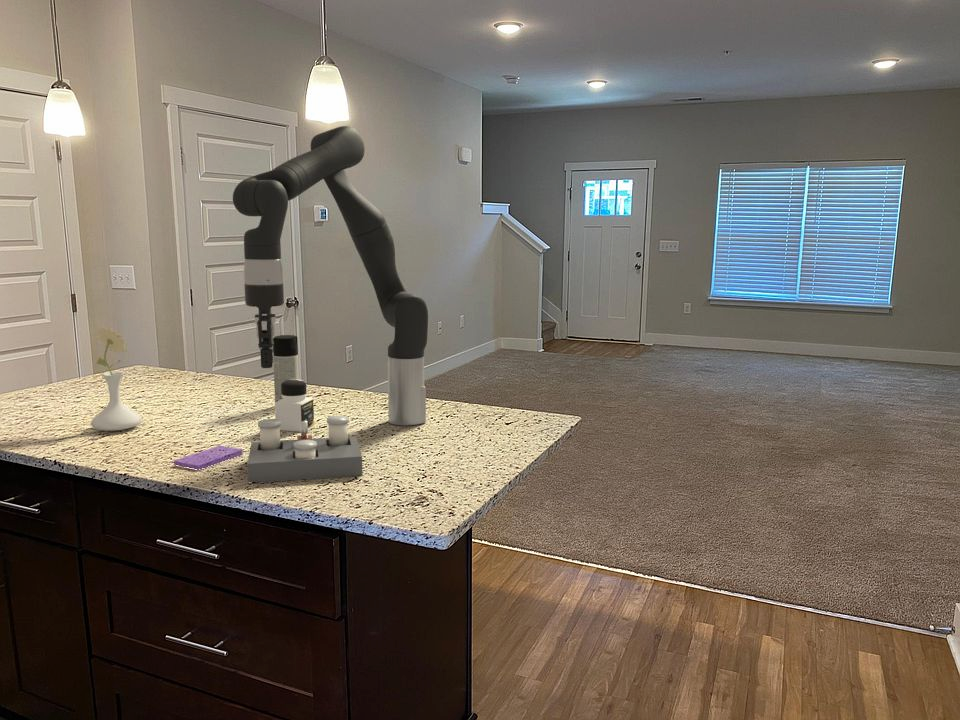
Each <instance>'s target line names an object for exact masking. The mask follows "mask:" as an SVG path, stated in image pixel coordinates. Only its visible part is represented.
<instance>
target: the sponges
mask: <svg viewBox="0 0 960 720" xmlns="http://www.w3.org/2000/svg"><path fill="white" fill-rule="evenodd" d="M243 452H244V451H243V448H238V447H231V446H225V445H216V446H214V447H210V448H208V449H204V450H201V451H198V452H195V453H192V454H190V455H187V456H183V457H180V458H177V459H174V460H173V465H175V466H176V465H179V466H184V467H189V468H194V469H197V470H199V469H202V468H205V467H208V466H211V465H214V464H216V465H218V464H217V463H219V464H221V463H220V462H222V461H225V460H228V459H230V460H232V459H231V458H233V459H235V458H234V457H236V458H238V457H237V456H239V457H241V456H240V455H242V456H243V455H244V454H243ZM228 461H229V460H228ZM225 462H226V461H225ZM222 463H223V462H222ZM214 466H215V465H214ZM211 467H212V466H211ZM208 468H209V467H208ZM205 469H206V468H205Z"/></svg>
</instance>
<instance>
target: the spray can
mask: <svg viewBox="0 0 960 720" xmlns="http://www.w3.org/2000/svg"><path fill="white" fill-rule="evenodd" d="M273 341H274V344H273V381H274V382H273V384H274V403H275V402H277V401H279V400H281V399H283V398H282V394H281V384H282V382H284V381H286V380H293V379H297V380H300V375H299V373H300V372H299V348H298V345H299V343H298V336H297V335H293V334H292V335H291V334H281V335H274V340H273Z"/></svg>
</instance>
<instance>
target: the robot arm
mask: <svg viewBox="0 0 960 720" xmlns="http://www.w3.org/2000/svg"><path fill="white" fill-rule="evenodd" d="M364 156H365V143H364V141H363V137H362V136H361V134H360V132H358V131H357V130H356V129H355V128H354V127H351V126H348V125H342V126H337V127H334V128H331V129H329V130H326V131H323V132H321V133H318V134H316V135H314V136H313V137H312V139H311V141H310V151H306V152H304V153H301V154H299V155H297V156H295V157H292V158H290V159H288V160H286V161H284V162H283V163H281V164H279V165H278V166H276V167H274V168H273V169H271V170H269V171H266V172H262V173H259V174H255V175H253V176H249V177H246V178H245V179H243V180H241V181H240V182H239V183H238V184H237V185H236V186H235V188H234V190H233V193H232V204H233V206H234V208H235V210H237V211H238V212H239V213H240V214H241V215H244V216H247V217H261V218H260V221H259V223H258V226H257V227H255V228H250V229H248V230H247V231H245V233H244V234H243V250H244V251H243V252H244V253H243V254H244V266H243V280H244V284H243V285H244V302H245V303H244V304H245V305H246V306H247V307H256V308H257V310H258V313H255V314H254V324H255V327H256V338H257V339H258V343H257V344H258V346H257V347H258V349H259V350H260V353H259V354H260V367H261V369H271V368H273V364H274V362H273V344H274V341H273V340H274V337H275V336H276V327H275V326H276V325H275V324H276V321H277V319H276V313H272V307H280V306H283V305H284V304H285V299H284V298H285V297H284V296H285V295H284V270H283V264H282V253H281V252H282V251H281V250H282V249H281V246H282V245H281V237H282V233H283V229H284V224H285V220H286V216H287V211H288V206H289V201H291V200H294V199H295V198H297V197H299V196H300V195H301V194H303V193H305V192H306V191H307V190H309V189H310V188H312V187H313V186H314V185H316V184H318V183H319V182H320V181H324V182H325V185H326V186H327V188H328V190H329V191H330V193H331V195H332V197H333V199H334V201H335V203H336V204H337V205H336V206H337V207H338V210H339V212H340V213H341V216H342V218H343V221H344V222H345V225H346V228H347V229H348V233H349V235H350V238H351V240H352V242H353V244H354V246H355V248H356V251H357V253H358V255H359V257H360V259H361V261H362V263H363V264H362V265H363V266H364V269H365V271H366V272H367V275H368V277H369V279H370V281H371V284H372V286H373V289H374V292H375V294H376V298H377V302H378V304H379V308H380V311H381V314H382V317H383V319H384V320H385V322H386V323H387V324H389V326H390V327H392V328H394V339H393V342H391V343H390V344H389V345H388V346H387V395H388V397H387V399H388V402H387V403H388V404H387V406H388V407H387V409H388V412H387V414H388V415H387V416H388V423H389V424H391V425H393V426H394V425H395V426H415V425H421V424H426V423H427V421H426V420H427V414H426V413H427V412H426V411H427V407H426V406H427V404H426V403H427V401H426V400H427V390H426V386H425V350H426V347H427V344H428V331H429V330H428V329H429V311H428V305H427V303H426V301H425V300H424V299H423V298H422V297H421V296H419V295H417V294H414V293H413V294H412V293H408V292H407V290H406V289H405V287H404V284H403V283H402V281H401V279H400V276H399V274H398V270H397V267H396V250H395V249H396V248H395V241H394V238H393V235H392V233H391V231H390V229H389V226H388V223H387V220H386V219H385V217H384V215H383V214H382V212H381V211H380V210H379V209H378V208H377V206H375V205H373V204H372V203H371V202H370V201H369V200H368V199H367V198H365V197H364V196H363V195H362V194H361V193H360V192H358V191H357V189H356V188H355V187H354V186H353V184H352V182H351V180H350V179H349V177H348V175H347V173H346V171H345V170H346V169H349V168H352V167H354V166H357V165H358V164H360V163H361V161H362V160H363V159H364Z"/></svg>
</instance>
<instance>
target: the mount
mask: <svg viewBox="0 0 960 720" xmlns="http://www.w3.org/2000/svg"><path fill="white" fill-rule="evenodd" d="M312 440H314V441H316V442H317V447H316V448H315V451H316V457H310V458H295V449H294V448H293V443H294V442H296V441H297V439H287V440H286V439H283V440H281V439H280V449H275V450H261V446H260V441H252V442H251V443H250V449H249V454H248V459H247V464H246V465H247V483H248V482H263V483H273V482H272V481H277V482H288V481H287V480H291V481H300V480H301V481H302V480H303V479H305V480H316V478H319V479H333V478H334V479H335V478H344V477H345V478H347V477H360V476H363V455H362V451H361V448H360V446H359V442H358V438H357V436H356V435H354V436H353V435H352V436H348V445H342V446H329V437H319V438H318V437H317V438H312ZM270 481H271V482H270Z"/></svg>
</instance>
